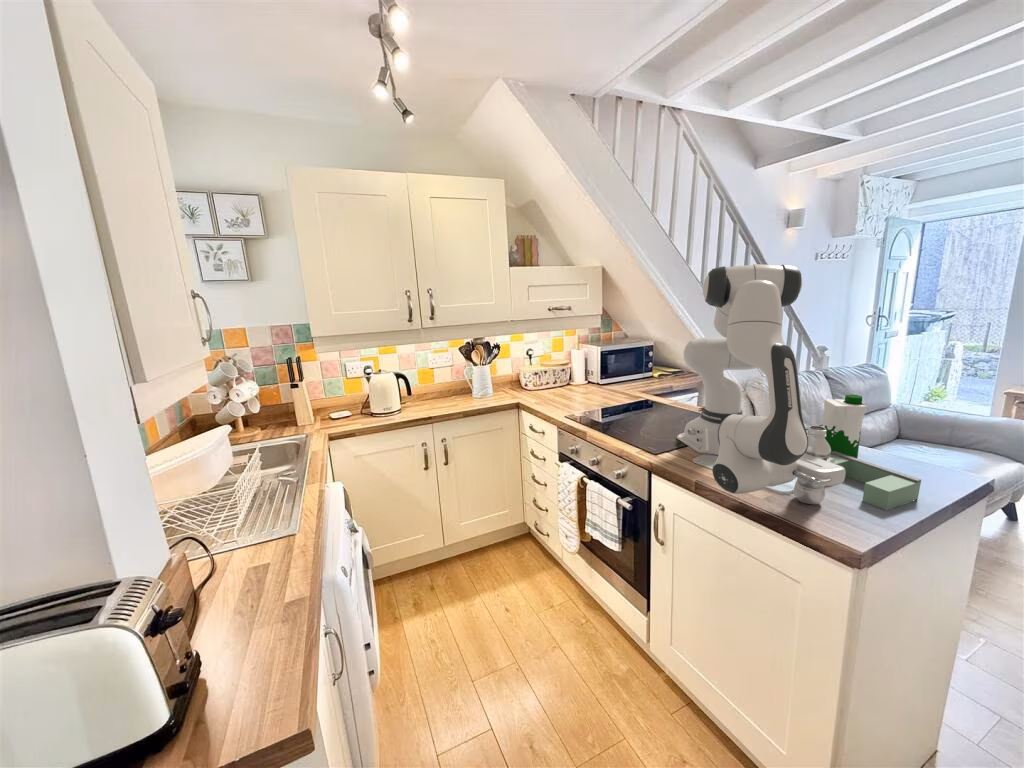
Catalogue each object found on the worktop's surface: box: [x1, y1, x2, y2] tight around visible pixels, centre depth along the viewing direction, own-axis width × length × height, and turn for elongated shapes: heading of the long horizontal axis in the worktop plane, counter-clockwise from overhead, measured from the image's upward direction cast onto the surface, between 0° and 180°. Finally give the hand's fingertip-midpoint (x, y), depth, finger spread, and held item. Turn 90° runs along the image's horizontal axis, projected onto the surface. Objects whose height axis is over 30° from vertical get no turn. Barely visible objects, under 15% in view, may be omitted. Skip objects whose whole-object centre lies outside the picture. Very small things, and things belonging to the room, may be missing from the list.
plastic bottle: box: [793, 425, 831, 505], centre depth 99 cm, size 6×7×20 cm
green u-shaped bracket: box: [829, 451, 922, 511], centre depth 105 cm, size 20×12×6 cm, turn 18°
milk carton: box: [821, 394, 868, 459], centre depth 122 cm, size 9×9×20 cm
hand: (816, 455), depth 98 cm, fingers open, 6 cm apart
